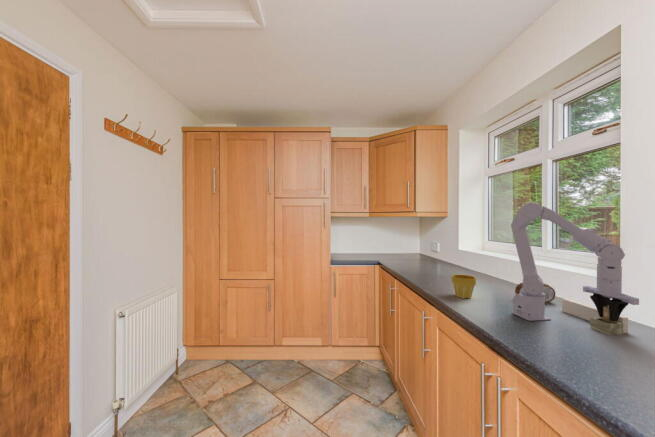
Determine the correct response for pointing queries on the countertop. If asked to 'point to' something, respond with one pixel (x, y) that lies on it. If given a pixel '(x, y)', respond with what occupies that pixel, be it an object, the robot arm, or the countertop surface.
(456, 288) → the plant pot
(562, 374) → the countertop surface
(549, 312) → the countertop surface
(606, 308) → the dowel
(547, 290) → the tin
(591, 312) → the backstop wall
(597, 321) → the socket block
